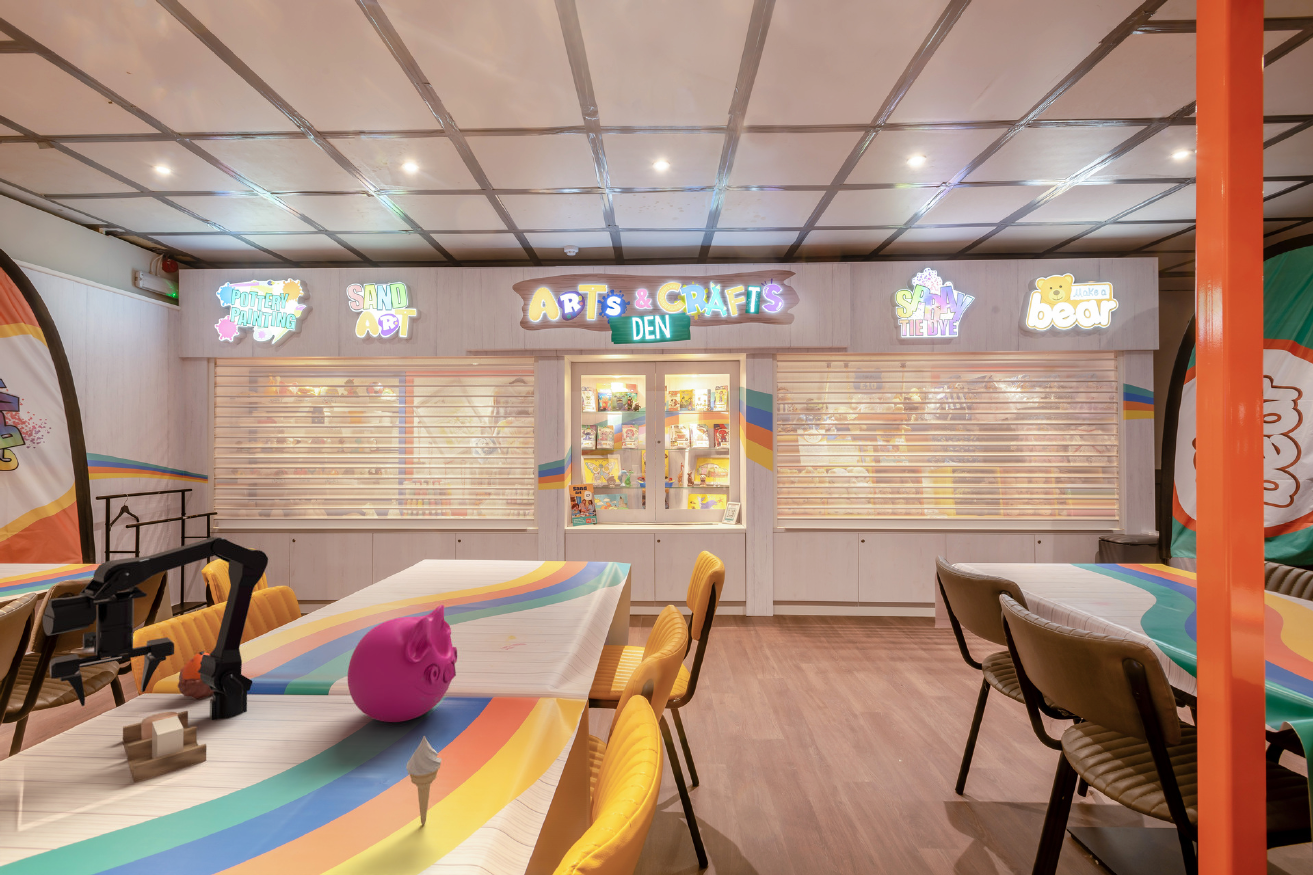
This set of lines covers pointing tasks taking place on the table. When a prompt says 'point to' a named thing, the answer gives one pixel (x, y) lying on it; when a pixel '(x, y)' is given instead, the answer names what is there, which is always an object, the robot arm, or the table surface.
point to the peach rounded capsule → (147, 723)
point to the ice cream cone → (423, 773)
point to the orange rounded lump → (193, 679)
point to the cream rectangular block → (166, 737)
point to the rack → (149, 767)
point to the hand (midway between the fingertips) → (113, 698)
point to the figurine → (403, 667)
